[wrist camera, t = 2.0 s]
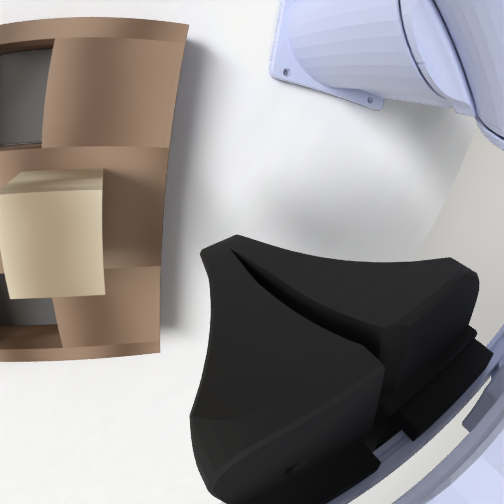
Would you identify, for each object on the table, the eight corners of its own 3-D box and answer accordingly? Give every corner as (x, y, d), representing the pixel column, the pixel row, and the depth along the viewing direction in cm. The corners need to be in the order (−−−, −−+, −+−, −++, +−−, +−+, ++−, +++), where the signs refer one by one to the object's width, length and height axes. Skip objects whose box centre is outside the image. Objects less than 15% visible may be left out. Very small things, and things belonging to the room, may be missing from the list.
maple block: (103, 168, 13) (102, 189, 9) (102, 250, 14) (105, 294, 11) (21, 171, 11) (-6, 195, 8) (27, 253, 12) (10, 298, 9)
